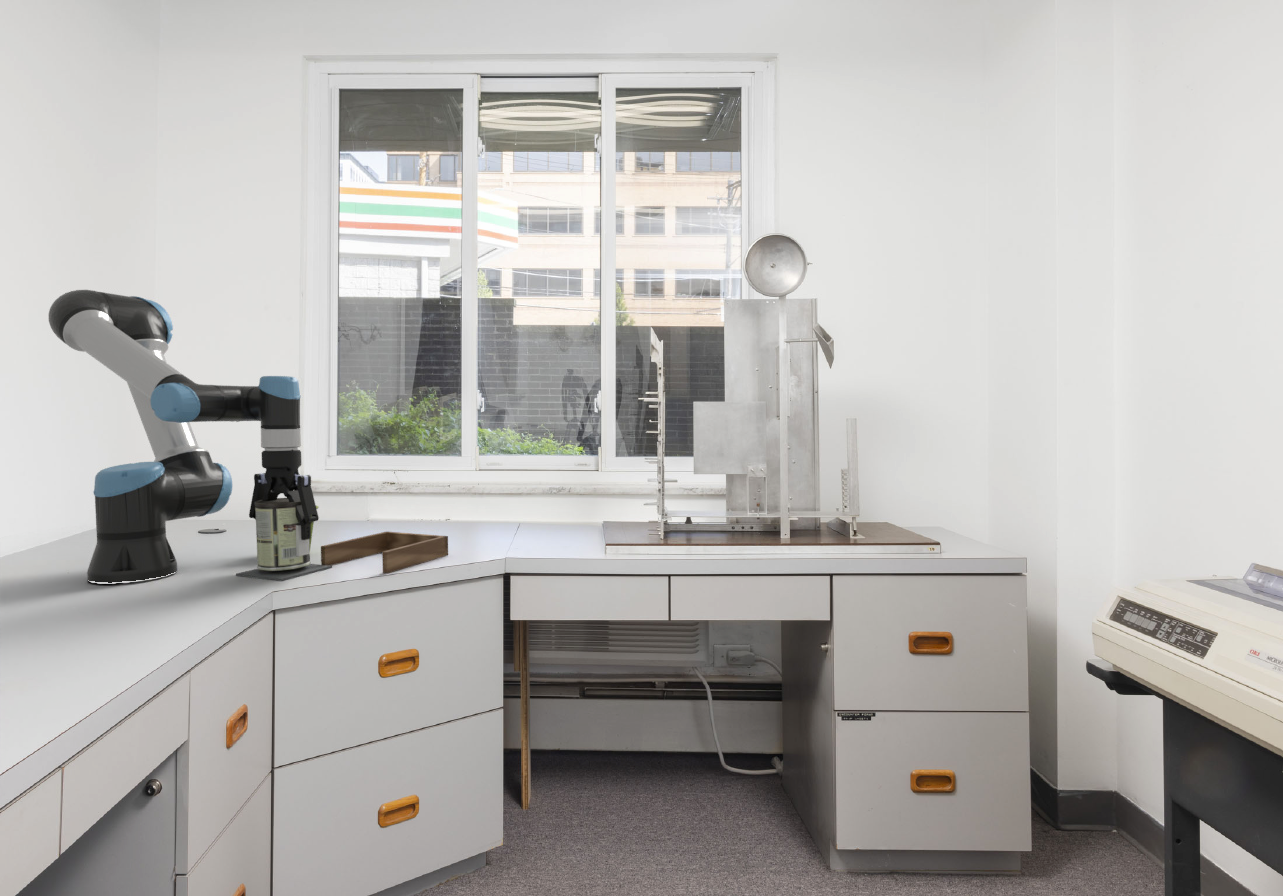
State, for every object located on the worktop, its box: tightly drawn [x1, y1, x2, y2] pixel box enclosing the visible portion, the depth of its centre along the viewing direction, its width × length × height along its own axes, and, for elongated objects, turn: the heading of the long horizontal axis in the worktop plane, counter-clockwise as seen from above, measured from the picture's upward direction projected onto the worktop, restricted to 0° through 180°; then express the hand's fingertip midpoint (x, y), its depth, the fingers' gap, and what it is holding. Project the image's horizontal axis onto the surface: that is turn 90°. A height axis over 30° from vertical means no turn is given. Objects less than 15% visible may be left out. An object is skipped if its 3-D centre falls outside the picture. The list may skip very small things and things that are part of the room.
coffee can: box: [254, 497, 312, 571], centre depth 150 cm, size 10×10×14 cm
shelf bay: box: [320, 531, 449, 574], centre depth 162 cm, size 18×20×4 cm
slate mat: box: [235, 563, 333, 582], centre depth 151 cm, size 13×13×1 cm
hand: (284, 553), depth 151 cm, fingers closed on coffee can, 10 cm apart
